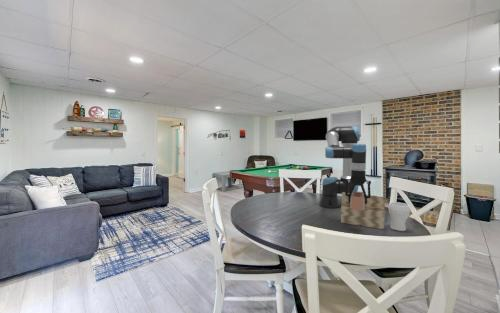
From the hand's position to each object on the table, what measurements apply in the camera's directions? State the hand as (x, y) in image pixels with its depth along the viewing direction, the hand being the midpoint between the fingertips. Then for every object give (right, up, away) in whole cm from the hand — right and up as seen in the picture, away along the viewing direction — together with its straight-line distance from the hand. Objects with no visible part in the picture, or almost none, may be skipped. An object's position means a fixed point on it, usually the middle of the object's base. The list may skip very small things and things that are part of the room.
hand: (357, 208), depth 127 cm
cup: (+26, -13, +2) cm, 29 cm away
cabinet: (+1, 0, +2) cm, 2 cm away
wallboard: (+7, -12, +9) cm, 17 cm away
